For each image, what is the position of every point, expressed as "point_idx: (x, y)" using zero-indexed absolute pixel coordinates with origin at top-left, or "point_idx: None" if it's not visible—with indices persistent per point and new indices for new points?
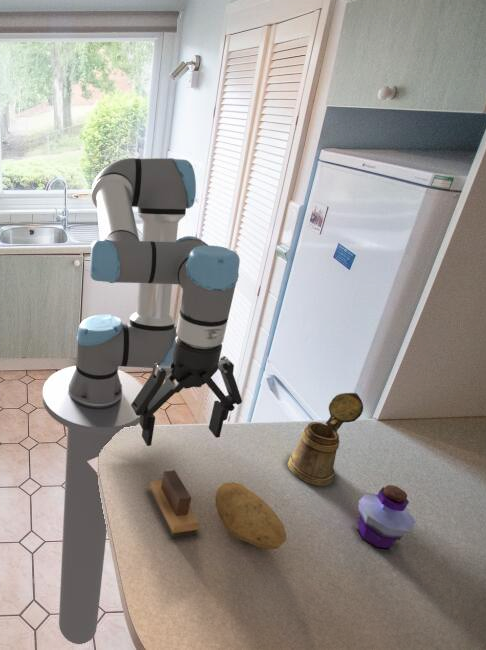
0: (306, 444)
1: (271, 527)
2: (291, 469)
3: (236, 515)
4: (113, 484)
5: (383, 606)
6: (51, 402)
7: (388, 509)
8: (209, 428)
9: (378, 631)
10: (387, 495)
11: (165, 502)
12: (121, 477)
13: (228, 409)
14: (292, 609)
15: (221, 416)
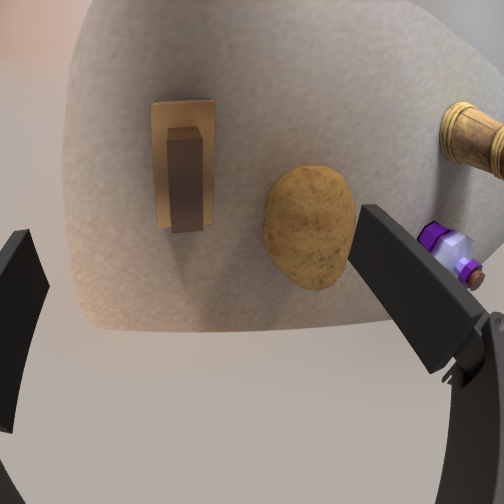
0: (490, 148)
1: (318, 287)
2: (443, 123)
3: (281, 255)
4: (81, 72)
5: (363, 301)
6: None
7: (457, 273)
8: (362, 211)
9: (337, 320)
10: (469, 281)
11: (161, 172)
12: (106, 51)
13: (446, 378)
14: (276, 307)
15: (411, 341)
